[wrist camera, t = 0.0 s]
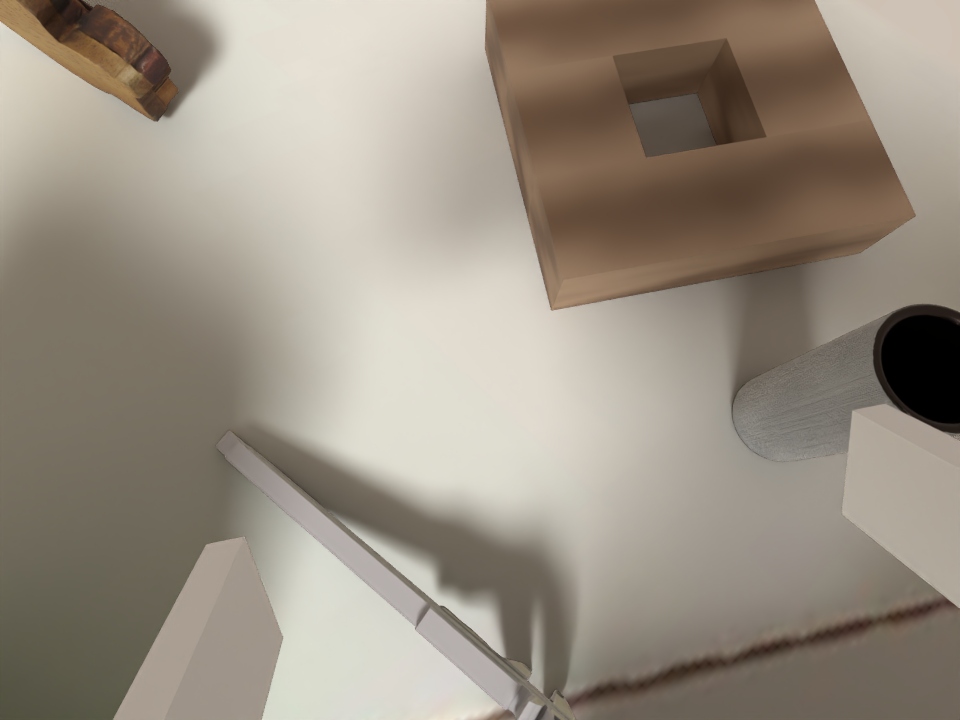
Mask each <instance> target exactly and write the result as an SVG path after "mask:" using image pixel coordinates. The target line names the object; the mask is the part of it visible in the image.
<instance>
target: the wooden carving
mask: <svg viewBox="0 0 960 720" xmlns="http://www.w3.org/2000/svg"><path fill="white" fill-rule="evenodd" d="M0 21H1V22H2V23H3V24H5V25H6V26H7V27H9V28H10V29H12V30H13V31H14V32H16V33H17V34H18V35H20V36H21V37H23V38H24V39H25V40H27V41H28V42H30V43H31V44H32V45H34V46H35V47H37V48H38V49H39V50H41V51H42V52H44V53H45V54H46V55H48V56H49V57H51V58H52V59H53V60H55V61H56V62H58V63H59V64H61V65H62V66H63V67H65V68H66V69H68V70H69V71H71V72H72V73H74V74H75V75H77V76H79V77H80V78H82V79H83V80H85V81H86V82H88V83H89V84H91V85H93V86H94V87H96V88H98V89H100V90H102V91H104V92H106V93H109V94H112V95H114V96H116V97H117V98H119V99H120V100H122V101H123V102H125V103H126V104H128V105H129V106H131V107H132V108H134V109H135V110H137V111H138V112H140V113H142V114H143V115H145V116H146V117H148V118H150V119H151V120H153V121H158V120H159V119H160V117H161V116H162V115H163V113H164V112H165V111H166V109H167V105H168V103H169V102H170V100H171V99H172V98H173V97H175V96H176V94H177V93H178V89H177V88H176V86H175V85H174V84H173V83H172V81H171V80H170V79H169V77H168V75H169V74H170V72H171V69H170V67H169V64H168V62H167V60H166V59H165V58H164V57H163V55H162V54H161V53H160V52H159V51H158V50H157V49H156V48H155V47H154V46H153V45H152V44H150V43H149V41H148V40H147V39H146V38H145V37H144V36H143V35H142V34H141V33H140V32H139V31H138V30H137V29H136V28H135V27H133V26H132V25H131V24H130V23H129V22H128V21H126V20H124V19H123V18H122V17H121V16H119V15H118V14H117V13H116V12H114V11H113V10H110V9H107V8H106V7H104V6H101V5H96V6H95V7H94V8H93V7H92V6H90V5H89V4H87V3H86V2H84V1H83V0H0Z"/></svg>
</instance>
